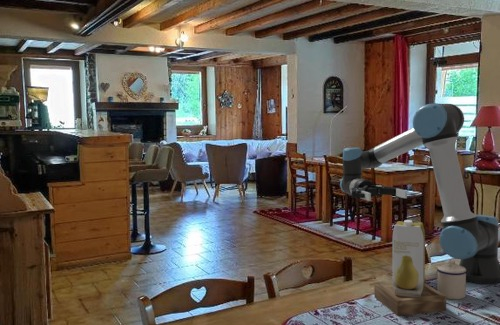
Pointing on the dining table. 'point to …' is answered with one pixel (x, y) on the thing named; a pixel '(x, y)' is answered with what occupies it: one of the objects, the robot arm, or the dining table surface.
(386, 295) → the wooden tray
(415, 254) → the juice carton
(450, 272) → the teacup with lid
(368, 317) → the dining table surface
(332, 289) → the dining table surface
